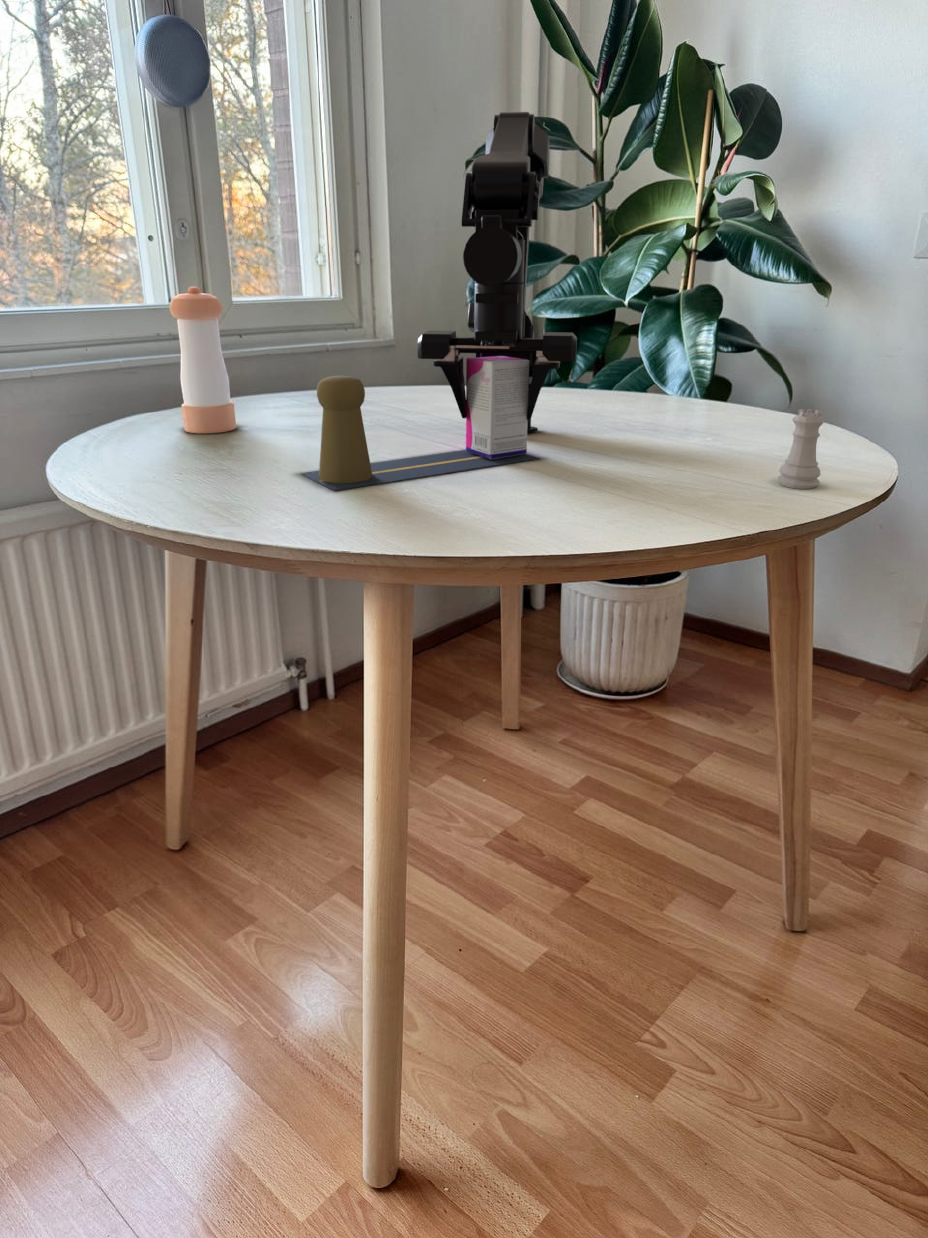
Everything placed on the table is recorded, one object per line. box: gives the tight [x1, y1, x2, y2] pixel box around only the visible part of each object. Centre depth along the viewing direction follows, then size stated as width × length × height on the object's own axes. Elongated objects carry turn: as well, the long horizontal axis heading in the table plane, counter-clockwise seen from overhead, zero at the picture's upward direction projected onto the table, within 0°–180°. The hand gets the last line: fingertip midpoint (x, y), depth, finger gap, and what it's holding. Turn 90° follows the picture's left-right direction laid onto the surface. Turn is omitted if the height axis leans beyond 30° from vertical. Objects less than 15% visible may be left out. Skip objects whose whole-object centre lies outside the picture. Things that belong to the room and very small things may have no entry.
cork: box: [316, 374, 372, 483], centre depth 92 cm, size 6×6×11 cm
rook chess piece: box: [776, 408, 826, 490], centre depth 90 cm, size 4×4×8 cm
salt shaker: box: [169, 286, 237, 434], centre depth 117 cm, size 7×7×19 cm
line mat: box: [300, 449, 541, 492], centre depth 99 cm, size 28×9×1 cm, turn 124°
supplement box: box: [465, 356, 530, 460], centre depth 102 cm, size 6×6×12 cm
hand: (496, 418), depth 103 cm, fingers closed on supplement box, 8 cm apart
